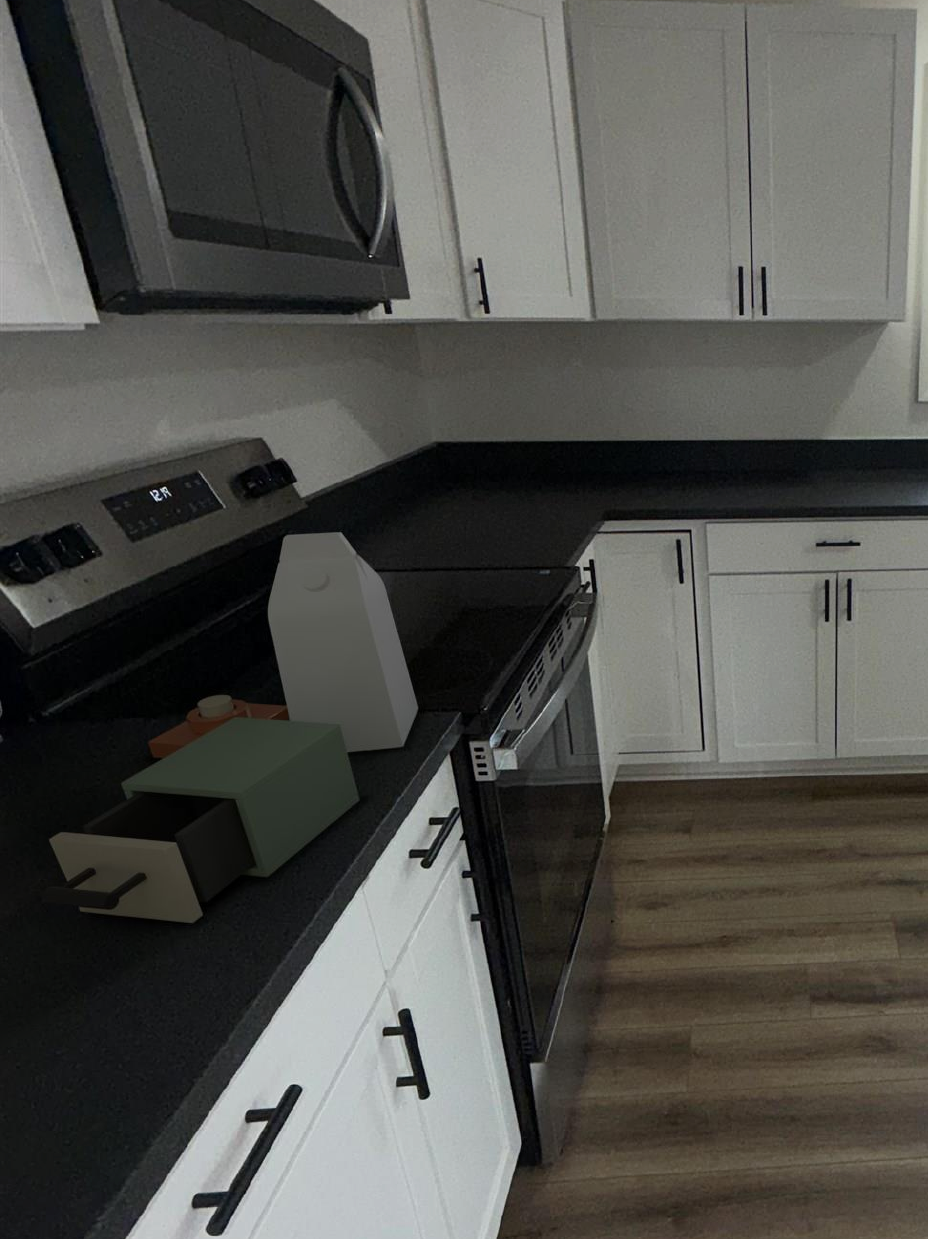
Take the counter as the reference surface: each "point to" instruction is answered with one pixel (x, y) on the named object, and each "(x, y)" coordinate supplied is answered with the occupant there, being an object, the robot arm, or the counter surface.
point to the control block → (211, 725)
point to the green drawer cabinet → (263, 781)
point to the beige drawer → (153, 857)
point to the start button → (215, 706)
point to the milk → (339, 643)
